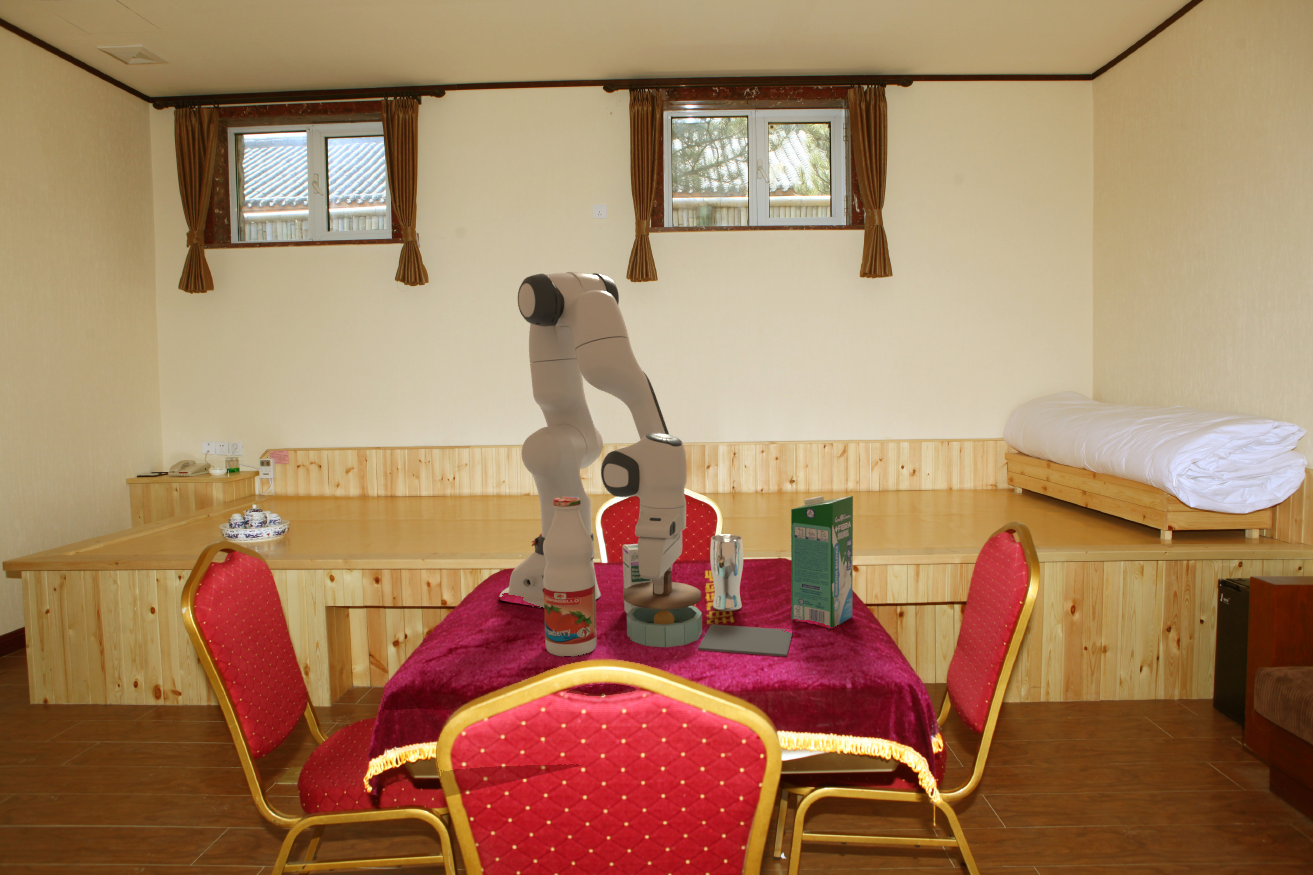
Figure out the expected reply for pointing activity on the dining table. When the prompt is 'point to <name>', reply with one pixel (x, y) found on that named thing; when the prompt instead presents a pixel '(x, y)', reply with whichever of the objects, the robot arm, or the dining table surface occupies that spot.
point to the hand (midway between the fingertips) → (662, 589)
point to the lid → (662, 595)
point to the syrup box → (631, 570)
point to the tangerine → (663, 617)
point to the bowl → (664, 627)
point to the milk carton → (822, 560)
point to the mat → (746, 640)
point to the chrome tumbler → (726, 571)
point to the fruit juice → (569, 583)
